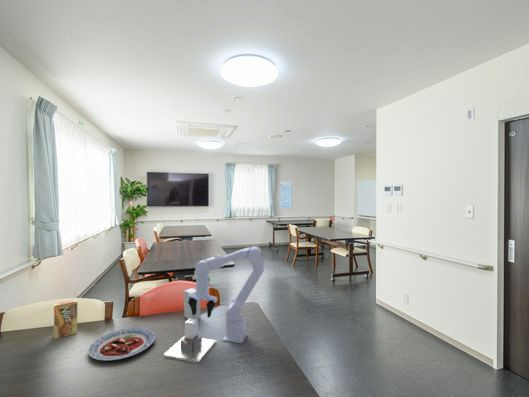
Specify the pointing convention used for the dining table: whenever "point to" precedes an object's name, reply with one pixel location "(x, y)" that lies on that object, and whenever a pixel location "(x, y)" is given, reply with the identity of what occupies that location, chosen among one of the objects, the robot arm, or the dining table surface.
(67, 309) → the candy box
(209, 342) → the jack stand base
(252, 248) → the robot arm
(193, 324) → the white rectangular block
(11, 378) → the dining table surface
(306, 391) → the dining table surface
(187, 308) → the skincare box
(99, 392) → the dining table surface
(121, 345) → the ceramic plate
